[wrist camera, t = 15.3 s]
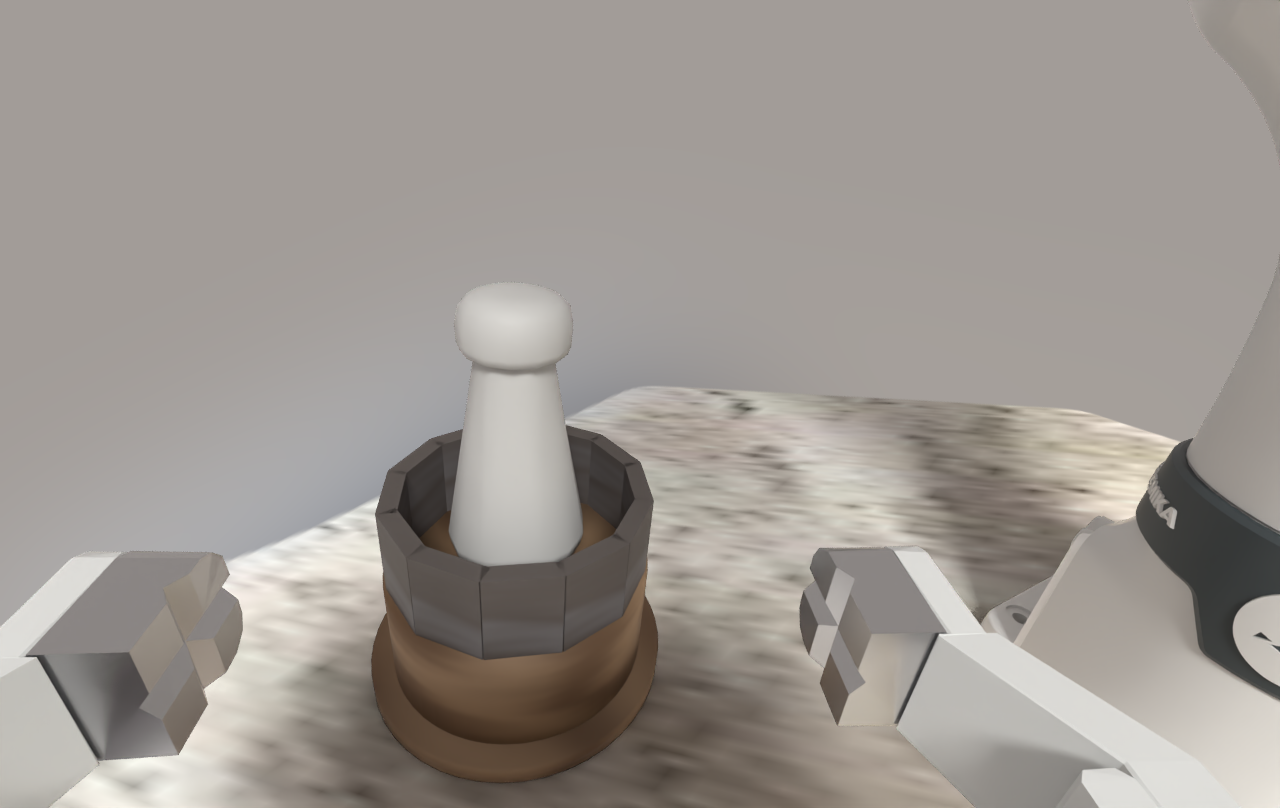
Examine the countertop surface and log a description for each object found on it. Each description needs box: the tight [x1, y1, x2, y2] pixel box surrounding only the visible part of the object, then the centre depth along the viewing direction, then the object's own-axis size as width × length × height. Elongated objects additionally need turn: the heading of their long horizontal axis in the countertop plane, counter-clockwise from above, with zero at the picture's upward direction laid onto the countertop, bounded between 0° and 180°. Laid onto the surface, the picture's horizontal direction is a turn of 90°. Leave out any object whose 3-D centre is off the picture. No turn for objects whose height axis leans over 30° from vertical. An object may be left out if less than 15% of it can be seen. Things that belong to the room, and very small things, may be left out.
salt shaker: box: [449, 282, 583, 566], centre depth 25 cm, size 6×6×13 cm
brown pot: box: [371, 426, 658, 783], centre depth 29 cm, size 14×14×10 cm
